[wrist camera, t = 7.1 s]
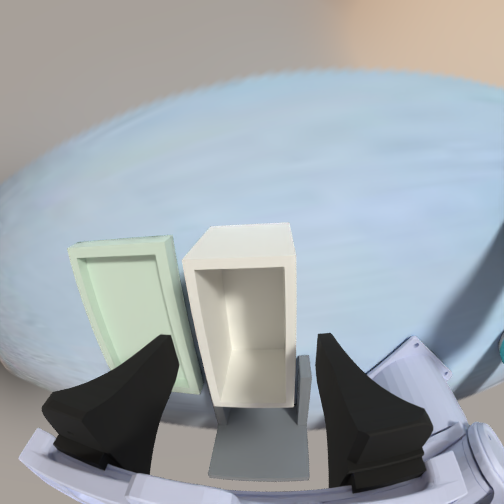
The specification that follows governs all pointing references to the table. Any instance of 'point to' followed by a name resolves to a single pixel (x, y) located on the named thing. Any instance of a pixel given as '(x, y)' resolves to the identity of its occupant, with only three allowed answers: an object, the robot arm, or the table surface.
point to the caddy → (245, 313)
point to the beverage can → (501, 347)
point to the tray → (136, 300)
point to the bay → (264, 439)
